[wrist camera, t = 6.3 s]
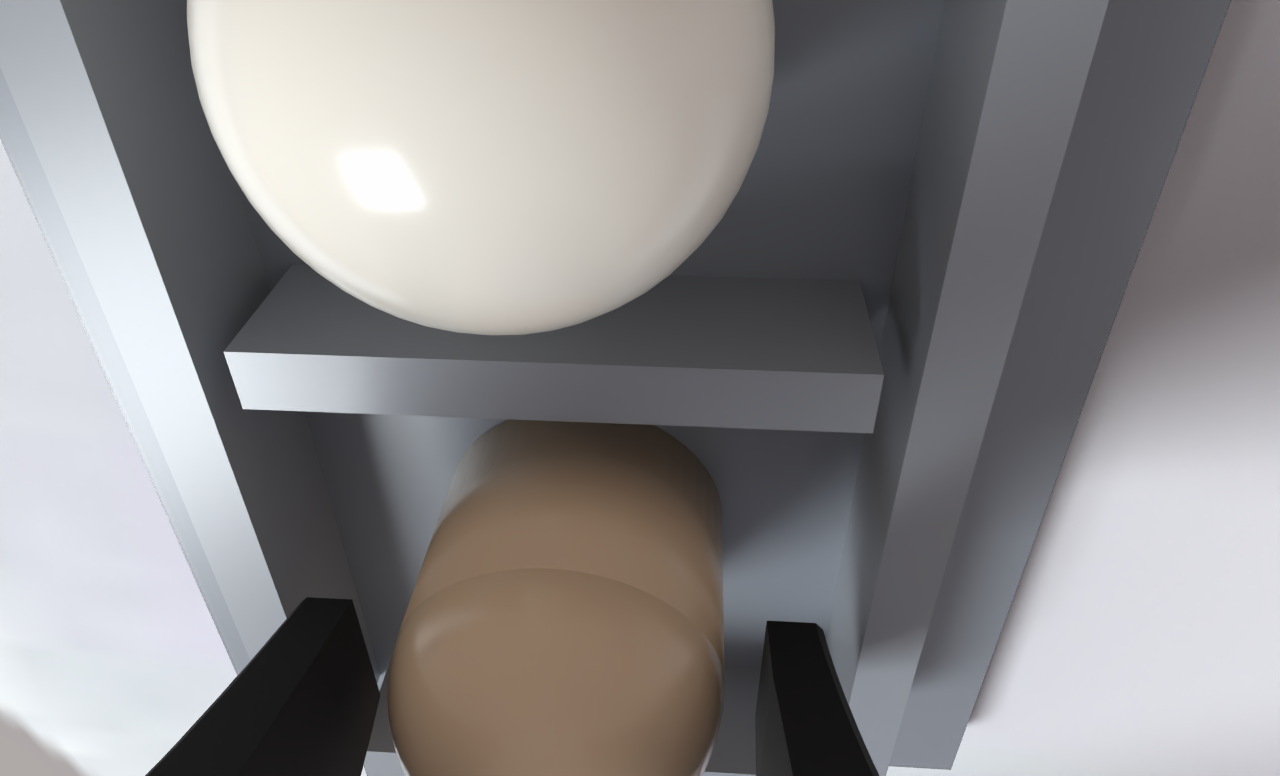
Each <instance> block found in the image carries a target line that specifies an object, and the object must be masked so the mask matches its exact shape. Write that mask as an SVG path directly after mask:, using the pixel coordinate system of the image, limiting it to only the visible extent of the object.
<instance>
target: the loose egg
mask: <svg viewBox="0 0 1280 776" xmlns="http://www.w3.org/2000/svg"><path fill="white" fill-rule="evenodd" d="M724 692H725V684H724V614H723V544H722V506H721V501H720V496H719V493H718V490H717V488H716V485H715V483H714V481H713V479H712V477H711V476H710V474H709V472H708V470H707V469H706V467H705V466H704V465H703V464H702V462H701V461H700V460H699V459H698V458H697V456H696V455H695V454H694V453H692V452H691V451H690V450H689V449H688V448H687V447H686V446H685V445H684V444H683V443H681V442H680V441H678V440H677V439H676V438H674V437H673V436H672V435H670V434H668V433H667V432H665V431H663V430H661V429H660V428H658V427H656V426H654V425H643V424H617V423H591V422H565V421H539V420H513V419H509V420H506V421H504V422H502V423H500V424H499V425H497V426H495V427H493V428H491V429H490V430H489V431H487V432H486V433H484V434H483V435H482V436H480V437H479V438H478V439H477V440H476V441H475V442H474V443H473V444H472V445H471V446H470V447H469V448H468V449H467V451H466V452H465V453H464V455H463V456H462V458H461V459H460V461H459V463H458V465H457V467H456V469H455V471H454V474H453V477H452V480H451V483H450V486H449V489H448V491H447V494H446V497H445V500H444V503H443V506H442V509H441V512H440V515H439V518H438V520H437V523H436V526H435V529H434V532H433V535H432V538H431V541H430V544H429V547H428V549H427V552H426V555H425V558H424V561H423V564H422V567H421V570H420V573H419V576H418V578H417V581H416V584H415V587H414V590H413V593H412V596H411V599H410V602H409V605H408V607H407V610H406V613H405V616H404V619H403V622H402V625H401V628H400V631H399V633H398V637H397V641H396V645H395V648H394V652H393V656H392V660H391V664H390V671H389V680H388V717H389V723H390V729H391V734H392V738H393V743H394V748H395V751H396V754H397V756H398V759H399V761H400V764H401V766H402V769H403V771H404V774H405V776H702V775H703V773H704V771H705V769H706V767H707V765H708V762H709V760H710V758H711V755H712V752H713V750H714V747H715V744H716V742H717V738H718V733H719V728H720V724H721V719H722V714H723V708H724Z"/></svg>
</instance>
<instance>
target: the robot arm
mask: <svg viewBox="0 0 1280 776" xmlns="http://www.w3.org/2000/svg"><path fill="white" fill-rule="evenodd" d="M379 699H380V692H379V688H378V685H377V681H376V678H375V675H374V671H373V668H372V664H371V661H370V658H369V654H368V651H367V647H366V644H365V641H364V637H363V634H362V630H361V627H360V624H359V620H358V617H357V613H356V610H355V607H354V603H353V600H352V599H333V598H313V597H306V598H305V599H304V600H303V601H302V602H300V604H299V605H298V606H297V607H296V608H295V609H294V611H293V612H292V613H291V614H290V615H289V616H288V618H287V619H286V620H285V621H284V622H283V623H282V625H281V626H280V627H279V628H278V629H277V630H276V632H275V633H274V634H273V635H272V636H271V638H270V639H269V640H268V641H267V642H266V643H265V645H264V646H263V647H262V648H261V649H260V650H259V652H258V653H257V654H256V655H255V656H254V657H253V659H252V660H251V661H250V662H249V663H248V664H247V666H246V667H245V668H244V669H243V670H242V671H241V672H240V674H239V675H238V676H237V677H236V678H235V679H234V680H233V682H232V683H231V684H230V685H229V686H228V687H227V688H226V689H225V691H224V692H223V693H222V694H221V695H220V696H219V697H218V698H217V700H216V701H215V702H214V703H213V704H212V705H211V706H210V707H209V708H208V709H207V711H206V712H205V713H204V714H203V715H202V716H201V717H200V718H199V719H198V720H197V721H196V723H195V724H194V725H193V726H192V727H191V728H190V729H189V730H188V731H187V732H186V734H185V735H184V736H183V737H182V738H181V739H180V740H179V741H178V742H177V743H176V744H175V746H174V747H173V748H172V749H171V750H170V751H169V752H168V753H167V754H166V755H165V756H164V757H163V758H162V759H161V760H160V761H159V762H158V763H157V764H156V765H155V766H154V767H153V768H152V769H151V770H150V771H149V772H148V773H147V774H146V775H145V776H360V775H361V772H362V769H363V765H364V761H365V757H366V753H367V749H368V745H369V742H370V738H371V733H372V729H373V725H374V721H375V716H376V712H377V708H378V704H379ZM755 744H756V776H879V774H878V771H877V769H876V767H875V765H874V763H873V761H872V759H871V756H870V754H869V752H868V750H867V748H866V745H865V743H864V741H863V738H862V736H861V734H860V731H859V729H858V727H857V724H856V722H855V719H854V717H853V714H852V712H851V709H850V707H849V704H848V702H847V699H846V697H845V694H844V692H843V689H842V686H841V684H840V681H839V678H838V675H837V673H836V670H835V667H834V664H833V661H832V658H831V655H830V651H829V648H828V645H827V642H826V638H825V634H824V631H823V629H822V628H821V627H820V626H818V625H817V624H816V623H805V622H786V621H767V623H766V631H765V639H764V648H763V656H762V664H761V672H760V680H759V689H758V697H757V705H756V713H755Z"/></svg>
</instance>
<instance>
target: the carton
mask: <svg viewBox="0 0 1280 776" xmlns="http://www.w3.org/2000/svg"><path fill="white" fill-rule="evenodd" d="M1230 1H1231V0H772V3H773V12H774V21H775V49H774V76H773V83H772V90H771V97H770V103H769V110H768V115H767V118H766V122H765V125H764V129H763V132H762V136H761V139H760V143H759V146H758V149H757V151H756V153H755V156H754V158H753V160H752V162H751V165H750V167H749V169H748V172H747V174H746V176H745V179H744V181H743V183H742V185H741V187H740V189H739V191H738V193H737V194H736V196H735V198H734V199H733V201H732V203H731V204H730V206H729V208H728V209H727V211H726V213H725V214H724V216H723V218H722V219H721V221H720V222H719V223H718V224H717V226H716V227H715V228H714V229H713V231H712V232H711V233H710V234H709V236H708V237H707V238H706V239H705V241H704V242H703V243H702V244H701V245H700V246H699V247H698V248H697V249H696V250H695V251H694V252H693V253H692V254H691V255H690V256H689V257H688V258H687V259H686V260H685V261H684V262H683V263H682V264H681V265H680V266H679V267H678V268H676V269H675V270H674V271H673V272H672V273H671V274H670V275H669V276H668V277H666V278H665V279H664V280H662V281H661V282H660V283H658V284H657V285H655V286H654V287H653V288H651V289H650V290H649V291H647V292H646V293H644V294H643V295H641V296H639V297H637V298H635V299H634V300H632V301H630V302H628V303H626V304H624V305H623V306H621V307H619V308H617V309H615V310H612V311H610V312H608V313H605V314H603V315H600V316H597V317H595V318H592V319H590V320H587V321H585V322H582V323H580V324H576V325H572V326H568V327H564V328H561V329H557V330H553V331H547V332H539V333H532V334H525V335H479V334H468V333H457V332H451V331H446V330H441V329H436V328H431V327H427V326H423V325H420V324H417V323H414V322H411V321H407V320H404V319H401V318H398V317H396V316H393V315H391V314H389V313H386V312H384V311H382V310H379V309H377V308H374V307H372V306H370V305H368V304H366V303H365V302H363V301H361V300H359V299H357V298H356V297H354V296H352V295H350V294H348V293H346V292H345V291H343V290H342V289H340V288H339V287H337V286H336V285H334V284H333V283H331V282H330V281H329V280H327V279H326V278H324V277H323V276H321V275H320V274H318V273H317V272H316V271H315V270H314V269H312V268H311V267H310V266H309V265H308V264H306V263H305V262H304V261H303V260H302V259H301V258H299V257H298V256H297V255H296V254H295V253H293V251H292V250H291V249H290V248H289V247H288V246H287V245H286V244H285V243H284V242H283V241H282V240H281V239H280V238H279V237H278V236H277V235H276V234H275V233H274V232H273V231H272V230H271V229H270V227H269V226H268V225H267V224H266V222H265V221H264V220H263V219H262V217H261V216H260V215H259V213H258V212H257V211H256V210H255V208H254V207H253V206H252V205H251V203H250V202H249V200H248V199H247V197H246V195H245V194H244V192H243V191H242V189H241V187H240V186H239V184H238V183H237V181H236V180H235V178H234V176H233V175H232V173H231V171H230V170H229V168H228V166H227V164H226V162H225V160H224V158H223V156H222V154H221V152H220V150H219V148H218V146H217V144H216V142H215V140H214V137H213V135H212V133H211V130H210V127H209V125H208V122H207V119H206V116H205V113H204V111H203V108H202V105H201V102H200V99H199V95H198V90H197V86H196V82H195V78H194V73H193V69H192V64H191V55H190V46H189V36H188V26H187V0H0V139H1V141H2V144H3V146H4V148H5V150H6V153H7V155H8V157H9V159H10V162H11V164H12V166H13V168H14V171H15V173H16V175H17V177H18V180H19V182H20V184H21V187H22V189H23V191H24V193H25V196H26V198H27V200H28V202H29V205H30V207H31V209H32V211H33V214H34V216H35V218H36V220H37V223H38V225H39V227H40V229H41V232H42V234H43V236H44V239H45V241H46V243H47V245H48V248H49V250H50V252H51V254H52V257H53V259H54V261H55V263H56V266H57V268H58V270H59V272H60V275H61V277H62V279H63V282H64V284H65V286H66V288H67V291H68V293H69V295H70V297H71V300H72V302H73V304H74V306H75V309H76V311H77V313H78V315H79V318H80V320H81V322H82V325H83V327H84V329H85V331H86V334H87V336H88V338H89V340H90V343H91V345H92V347H93V349H94V352H95V354H96V356H97V358H98V361H99V363H100V365H101V368H102V370H103V372H104V374H105V377H106V379H107V381H108V383H109V386H110V388H111V390H112V392H113V395H114V397H115V399H116V401H117V404H118V406H119V408H120V411H121V413H122V415H123V417H124V420H125V422H126V424H127V426H128V429H129V431H130V433H131V435H132V438H133V440H134V442H135V444H136V447H137V449H138V451H139V454H140V456H141V458H142V460H143V463H144V465H145V467H146V469H147V472H148V474H149V476H150V478H151V481H152V483H153V485H154V487H155V490H156V492H157V494H158V496H159V499H160V501H161V503H162V506H163V508H164V510H165V512H166V515H167V517H168V519H169V521H170V524H171V526H172V528H173V530H174V533H175V535H176V537H177V539H178V542H179V544H180V546H181V549H182V551H183V553H184V555H185V558H186V560H187V562H188V564H189V567H190V569H191V571H192V573H193V576H194V578H195V580H196V582H197V585H198V587H199V589H200V592H201V594H202V596H203V598H204V601H205V603H206V605H207V607H208V610H209V612H210V614H211V616H212V619H213V621H214V623H215V625H216V628H217V630H218V632H219V635H220V637H221V639H222V641H223V644H224V646H225V648H226V650H227V653H228V655H229V657H230V659H231V662H232V664H233V666H234V668H235V671H236V673H237V675H239V674H240V672H241V671H242V670H243V669H244V668H245V667H246V666H247V664H248V663H249V662H250V661H251V660H252V659H253V657H254V656H255V655H256V654H257V653H258V652H259V650H260V649H261V648H262V647H263V646H264V645H265V643H266V642H267V641H268V640H269V639H270V638H271V636H272V635H273V634H274V633H275V632H276V630H277V629H278V628H279V627H280V626H281V625H282V623H283V622H284V621H285V620H286V619H287V618H288V616H289V615H290V614H291V613H292V612H293V611H294V609H295V608H296V607H297V606H298V605H299V604H300V602H302V601H303V600H304V599H305V598H306V597H313V598H333V599H352V600H353V603H354V607H355V610H356V613H357V617H358V620H359V624H360V627H361V630H362V634H363V637H364V641H365V644H366V647H367V651H368V654H369V658H370V661H371V664H372V668H373V671H374V675H375V678H376V681H377V685H378V688H379V692H380V699H379V704H378V708H377V712H376V716H375V721H374V725H373V729H372V733H371V738H370V742H369V745H368V749H367V753H366V757H365V761H364V768H365V771H366V774H367V776H405V774H404V771H403V769H402V766H401V764H400V761H399V759H398V756H397V754H396V751H395V748H394V743H393V738H392V734H391V729H390V723H389V717H388V680H389V671H390V664H391V660H392V656H393V652H394V648H395V645H396V641H397V637H398V633H399V631H400V628H401V625H402V622H403V619H404V616H405V613H406V610H407V607H408V605H409V602H410V599H411V596H412V593H413V590H414V587H415V584H416V581H417V578H418V576H419V573H420V570H421V567H422V564H423V561H424V558H425V555H426V552H427V549H428V547H429V544H430V541H431V538H432V535H433V532H434V529H435V526H436V523H437V520H438V518H439V515H440V512H441V509H442V506H443V503H444V500H445V497H446V494H447V491H448V489H449V486H450V483H451V480H452V477H453V474H454V471H455V469H456V467H457V465H458V463H459V461H460V459H461V458H462V456H463V455H464V453H465V452H466V451H467V449H468V448H469V447H470V446H471V445H472V444H473V443H474V442H475V441H476V440H477V439H478V438H479V437H480V436H482V435H483V434H484V433H486V432H487V431H489V430H490V429H491V428H493V427H495V426H497V425H499V424H500V423H502V422H504V421H506V420H509V419H513V420H539V421H565V422H591V423H617V424H643V425H654V426H656V427H658V428H660V429H661V430H663V431H665V432H667V433H668V434H670V435H672V436H673V437H674V438H676V439H677V440H678V441H680V442H681V443H683V444H684V445H685V446H686V447H687V448H688V449H689V450H690V451H691V452H692V453H694V454H695V455H696V456H697V458H698V459H699V460H700V461H701V462H702V464H703V465H704V466H705V467H706V469H707V470H708V472H709V474H710V476H711V477H712V479H713V481H714V483H715V485H716V488H717V490H718V493H719V496H720V501H721V506H722V544H723V614H724V684H725V692H724V708H723V714H722V719H721V724H720V728H719V733H718V738H717V742H716V744H715V747H714V750H713V752H712V755H711V758H710V760H709V762H708V765H707V767H706V769H705V771H704V773H703V775H702V776H756V744H755V713H756V705H757V697H758V689H759V680H760V672H761V664H762V656H763V648H764V639H765V631H766V623H767V621H786V622H805V623H816V624H817V625H818V626H820V627H821V628H822V629H823V631H824V634H825V638H826V642H827V645H828V648H829V651H830V655H831V658H832V661H833V664H834V667H835V670H836V673H837V675H838V678H839V681H840V684H841V686H842V689H843V692H844V694H845V697H846V699H847V702H848V704H849V707H850V709H851V712H852V714H853V717H854V719H855V722H856V724H857V727H858V729H859V731H860V734H861V736H862V738H863V741H864V743H865V745H866V748H867V750H868V752H869V754H870V756H871V759H872V761H873V763H874V765H875V767H876V769H877V771H878V774H879V776H886V773H887V770H888V766H896V767H913V768H930V769H947V770H951V768H952V765H953V762H954V759H955V757H956V754H957V751H958V748H959V746H960V743H961V740H962V737H963V735H964V732H965V729H966V726H967V724H968V721H969V718H970V715H971V713H972V710H973V707H974V704H975V702H976V699H977V696H978V693H979V691H980V688H981V685H982V682H983V680H984V677H985V674H986V671H987V669H988V666H989V663H990V660H991V658H992V655H993V652H994V649H995V647H996V644H997V641H998V639H999V636H1000V633H1001V630H1002V628H1003V625H1004V622H1005V619H1006V617H1007V614H1008V611H1009V608H1010V606H1011V603H1012V600H1013V597H1014V595H1015V592H1016V589H1017V586H1018V584H1019V581H1020V578H1021V575H1022V573H1023V570H1024V567H1025V564H1026V562H1027V559H1028V556H1029V553H1030V551H1031V548H1032V545H1033V542H1034V540H1035V537H1036V534H1037V531H1038V529H1039V526H1040V523H1041V520H1042V518H1043V515H1044V512H1045V509H1046V507H1047V504H1048V501H1049V498H1050V496H1051V493H1052V490H1053V487H1054V485H1055V482H1056V479H1057V476H1058V474H1059V471H1060V468H1061V465H1062V463H1063V460H1064V457H1065V454H1066V452H1067V449H1068V446H1069V443H1070V441H1071V438H1072V435H1073V433H1074V430H1075V427H1076V424H1077V422H1078V419H1079V416H1080V413H1081V411H1082V408H1083V405H1084V402H1085V400H1086V397H1087V394H1088V391H1089V389H1090V386H1091V383H1092V380H1093V378H1094V375H1095V372H1096V369H1097V367H1098V364H1099V361H1100V358H1101V356H1102V353H1103V350H1104V347H1105V345H1106V342H1107V339H1108V336H1109V334H1110V331H1111V328H1112V325H1113V323H1114V320H1115V317H1116V314H1117V312H1118V309H1119V306H1120V303H1121V301H1122V298H1123V295H1124V292H1125V290H1126V287H1127V284H1128V281H1129V279H1130V276H1131V273H1132V270H1133V268H1134V265H1135V262H1136V259H1137V257H1138V254H1139V251H1140V248H1141V246H1142V243H1143V240H1144V237H1145V235H1146V232H1147V229H1148V227H1149V224H1150V221H1151V218H1152V216H1153V213H1154V210H1155V207H1156V205H1157V202H1158V199H1159V196H1160V194H1161V191H1162V188H1163V185H1164V183H1165V180H1166V177H1167V174H1168V172H1169V169H1170V166H1171V163H1172V161H1173V158H1174V155H1175V152H1176V150H1177V147H1178V144H1179V141H1180V139H1181V136H1182V133H1183V130H1184V128H1185V125H1186V122H1187V119H1188V117H1189V114H1190V111H1191V108H1192V106H1193V103H1194V100H1195V97H1196V95H1197V92H1198V89H1199V86H1200V84H1201V81H1202V78H1203V75H1204V73H1205V70H1206V67H1207V64H1208V62H1209V59H1210V56H1211V53H1212V51H1213V48H1214V45H1215V42H1216V40H1217V37H1218V34H1219V31H1220V29H1221V26H1222V23H1223V21H1224V18H1225V15H1226V12H1227V10H1228V7H1229V4H1230Z"/></svg>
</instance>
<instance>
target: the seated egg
mask: <svg viewBox="0 0 1280 776" xmlns="http://www.w3.org/2000/svg"><path fill="white" fill-rule="evenodd" d="M187 26H188V36H189V46H190V55H191V64H192V69H193V73H194V78H195V82H196V86H197V90H198V95H199V99H200V102H201V105H202V108H203V111H204V113H205V116H206V119H207V122H208V125H209V127H210V130H211V133H212V135H213V137H214V140H215V142H216V144H217V146H218V148H219V150H220V152H221V154H222V156H223V158H224V160H225V162H226V164H227V166H228V168H229V170H230V171H231V173H232V175H233V176H234V178H235V180H236V181H237V183H238V184H239V186H240V187H241V189H242V191H243V192H244V194H245V195H246V197H247V199H248V200H249V202H250V203H251V205H252V206H253V207H254V208H255V210H256V211H257V212H258V213H259V215H260V216H261V217H262V219H263V220H264V221H265V222H266V224H267V225H268V226H269V227H270V229H271V230H272V231H273V232H274V233H275V234H276V235H277V236H278V237H279V238H280V239H281V240H282V241H283V242H284V243H285V244H286V245H287V246H288V247H289V248H290V249H291V250H292V251H293V253H295V254H296V255H297V256H298V257H299V258H301V259H302V260H303V261H304V262H305V263H306V264H308V265H309V266H310V267H311V268H312V269H314V270H315V271H316V272H317V273H318V274H320V275H321V276H323V277H324V278H326V279H327V280H329V281H330V282H331V283H333V284H334V285H336V286H337V287H339V288H340V289H342V290H343V291H345V292H346V293H348V294H350V295H352V296H354V297H356V298H357V299H359V300H361V301H363V302H365V303H366V304H368V305H370V306H372V307H374V308H377V309H379V310H382V311H384V312H386V313H389V314H391V315H393V316H396V317H398V318H401V319H404V320H407V321H411V322H414V323H417V324H420V325H423V326H427V327H431V328H436V329H441V330H446V331H451V332H457V333H468V334H479V335H525V334H532V333H539V332H547V331H553V330H557V329H561V328H564V327H568V326H572V325H576V324H580V323H582V322H585V321H587V320H590V319H592V318H595V317H597V316H600V315H603V314H605V313H608V312H610V311H612V310H615V309H617V308H619V307H621V306H623V305H624V304H626V303H628V302H630V301H632V300H634V299H635V298H637V297H639V296H641V295H643V294H644V293H646V292H647V291H649V290H650V289H651V288H653V287H654V286H655V285H657V284H658V283H660V282H661V281H662V280H664V279H665V278H666V277H668V276H669V275H670V274H671V273H672V272H673V271H674V270H675V269H676V268H678V267H679V266H680V265H681V264H682V263H683V262H684V261H685V260H686V259H687V258H688V257H689V256H690V255H691V254H692V253H693V252H694V251H695V250H696V249H697V248H698V247H699V246H700V245H701V244H702V243H703V242H704V241H705V239H706V238H707V237H708V236H709V234H710V233H711V232H712V231H713V229H714V228H715V227H716V226H717V224H718V223H719V222H720V221H721V219H722V218H723V216H724V214H725V213H726V211H727V209H728V208H729V206H730V204H731V203H732V201H733V199H734V198H735V196H736V194H737V193H738V191H739V189H740V187H741V185H742V183H743V181H744V179H745V176H746V174H747V172H748V169H749V167H750V165H751V162H752V160H753V158H754V156H755V153H756V151H757V149H758V146H759V143H760V139H761V136H762V132H763V129H764V125H765V122H766V118H767V115H768V110H769V103H770V97H771V90H772V83H773V76H774V49H775V21H774V12H773V3H772V0H187Z"/></svg>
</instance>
